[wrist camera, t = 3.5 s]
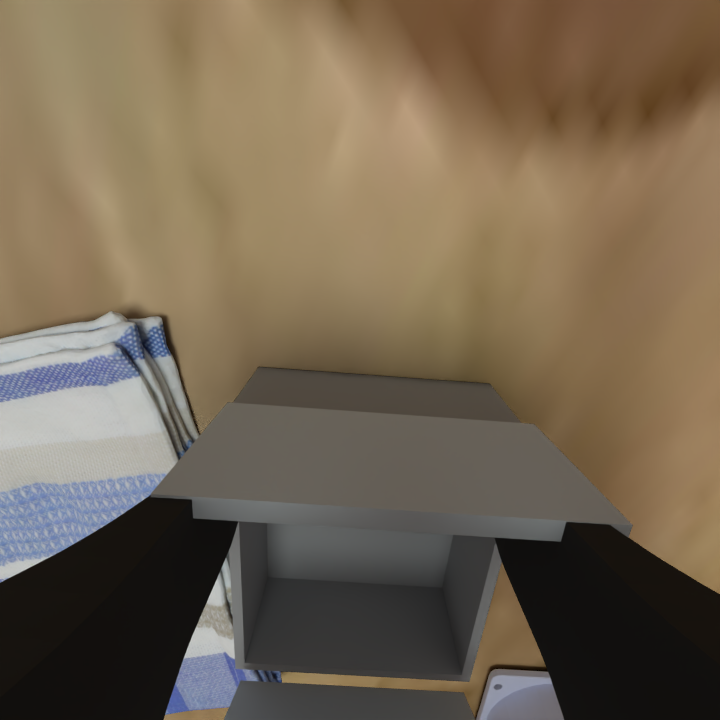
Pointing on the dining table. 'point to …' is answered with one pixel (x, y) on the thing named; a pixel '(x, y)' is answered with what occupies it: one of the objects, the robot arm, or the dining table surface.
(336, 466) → the near flap
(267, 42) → the dining table surface
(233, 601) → the carton
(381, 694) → the far flap
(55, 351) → the dish towel
